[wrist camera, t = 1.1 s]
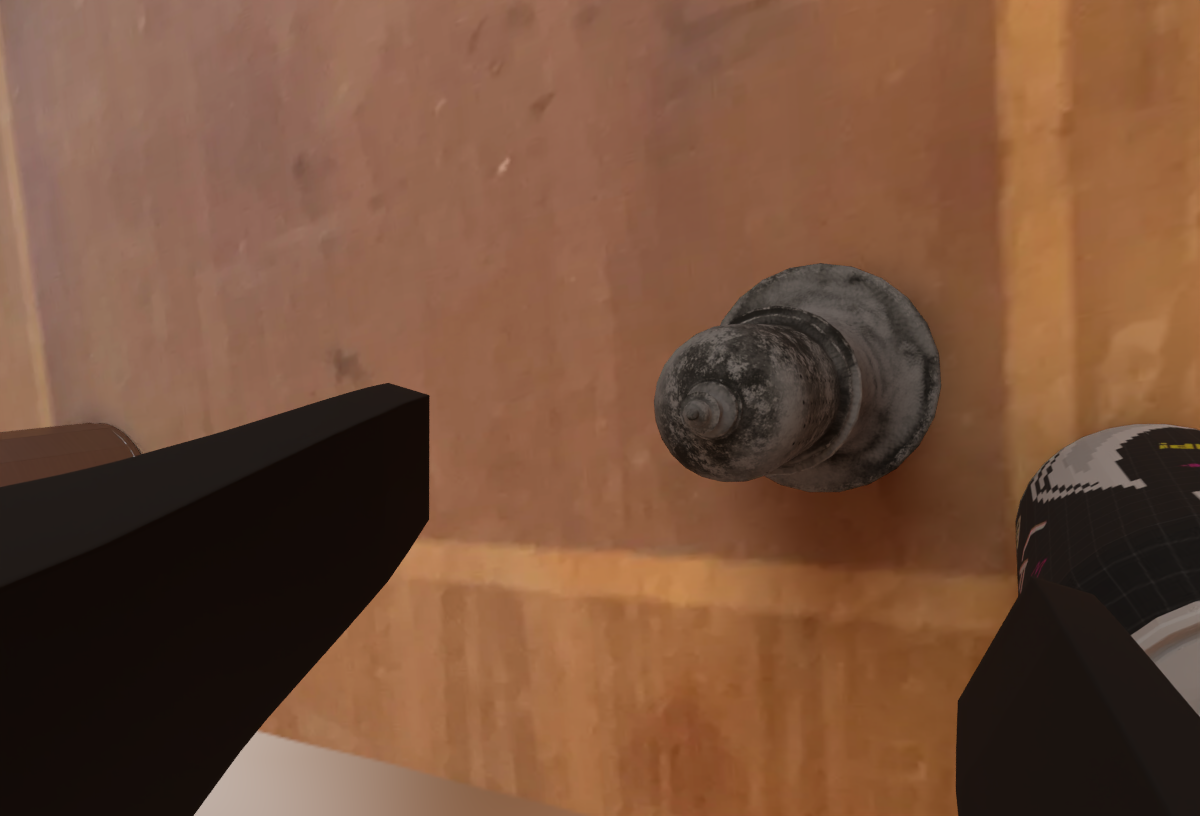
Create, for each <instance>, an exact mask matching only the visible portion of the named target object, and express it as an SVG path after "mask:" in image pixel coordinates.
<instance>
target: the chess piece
mask: <svg viewBox="0 0 1200 816" xmlns="http://www.w3.org/2000/svg"><path fill="white" fill-rule="evenodd" d="M940 389H941V377H940V363H939V353H938V350H937V348H936V345H935V342H934V340H933V337H932V335H931V332H930V329H929V327H928V324H927V323H926V321H925V320H924V319H923V317H922V316H921V315H920V313H919V312H918V311H917V309H916V308H915V307H914V305H913V304H912V303H911V301H910V300H909V299H908V298H907V297H906V296H905V295H903V294H902V293H901V292H899V291H898V290H897V289H895V288H894V287H893V286H891V285H890V284H889V283H887V282H886V281H885V280H883V279H882V278H879V277H877V276H874V275H872V274H869V273H867V272H864V271H862V270H859V269H856V268H854V267H850V266H840V265H831V264H822V263H820V264H813V265H807V266H801V267H794V268H789V269H787V270H785V271H782V272H780V273H778V274H776V275H773V276H771V277H769V278H766V279H764V280H762V281H761V282H760V283H758V284H757V285H756V286H754V287H753V288H752V289H751V290H749V291H748V292H747V293H746V294H744V295H743V296H742V297H740V298H739V300H738V301H737V302H736V303H735V305H734V306H733V307H732V309H731V310H730V311H729V313H728V314H727V315H726V316H725V318H724V319H723V320H722V322H721V325H720V326H716V327H712V328H710V329H708V330H705V331H703V332H701V333H698V334H696V335H695V336H693V337H692V338H691V339H689V340H688V341H687V342H685V343H684V344H683V345H682V346H680V347H679V348H678V349H677V350H676V351H675V352H674V353H673V355H672V356H671V357H670V359H669V360H668V361H667V363H666V364H665V365H664V367H663V370H662V372H661V375H660V377H659V379H658V382H657V386H656V393H655V399H654V407H655V419H656V423H657V426H658V429H659V432H660V435H661V438H662V440H663V442H664V443H665V445H666V446H667V448H668V449H669V451H670V453H671V454H672V455H673V456H674V457H675V458H676V459H677V460H678V461H679V462H680V463H681V464H682V465H683V466H684V467H685V468H687V469H689V470H691V471H693V472H694V473H696V474H698V475H700V476H702V477H705V478H709V479H713V480H717V481H722V482H740V481H749V480H752V479H755V478H759V477H762V476H765V477H767V478H769V479H771V480H773V481H775V482H776V483H778V484H780V485H783V486H787V487H791V488H795V489H799V490H803V491H807V492H841V491H845V490H849V489H853V488H857V487H860V486H864V485H868V484H870V483H872V482H874V481H876V480H877V479H879V478H881V477H883V476H884V475H886V474H888V473H890V472H891V471H893V470H895V469H896V468H897V467H898V466H899V465H900V464H901V463H902V462H903V461H904V460H905V459H906V458H907V457H908V456H909V455H910V454H911V453H912V452H913V451H914V450H915V449H916V448H917V447H918V446H919V445H920V443H921V441H922V439H923V437H924V436H925V434H926V432H927V430H928V428H929V426H930V425H931V423H932V421H933V419H934V417H935V412H936V408H937V403H938V398H939V394H940Z"/></svg>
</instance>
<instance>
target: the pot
mask: <svg viewBox="0 0 1200 816" xmlns="http://www.w3.org/2000/svg"><path fill="white" fill-rule="evenodd" d="M138 455H141V454H140V452H139V451H138V449H137V448H136V447H135V445H134V444H133V443H132V441H131V440H130V439H129V438H128V437H127V436H126V435H125V434H124V433H122V432H121V431H120V430H118V429H117V428H115V427H113V426H110V425H107V424H101V423H99V424H93V423H83V424H74V425H64V426H55V427H45V428H36V429H27V430H17V431H8V432H0V487H3V486H8V485H13V484H17V483H22V482H27V481H32V480H37V479H42V478H46V477H51V476H56V475H61V474H65V473H69V472H74V471H78V470H82V469H87V468H91V467H95V466H99V465H103V464H107V463H111V462H115V461H120V460H123V459H127V458H130V457H134V456H138Z"/></svg>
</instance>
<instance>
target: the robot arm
mask: <svg viewBox="0 0 1200 816" xmlns="http://www.w3.org/2000/svg"><path fill="white" fill-rule="evenodd" d="M428 520H429V395H427V394H423V393H420V392H417V391H413V390H410V389H407V388H403V387H400V386H397V385H393V384H390V383H386V384H381V385H376V386H372V387H368V388H364V389H360V390H357V391H353V392H349V393H346V394H343V395H339V396H336V397H333V398H329V399H326V400H323V401H320V402H316V403H313V404H310V405H307V406H304V407H300V408H297V409H294V410H291V411H288V412H284V413H281V414H278V415H275V416H272V417H268V418H265V419H262V420H259V421H255V422H252V423H249V424H246V425H243V426H239V427H236V428H233V429H230V430H227V431H223V432H220V433H217V434H213V435H210V436H206V437H202V438H199V439H195V440H192V441H188V442H184V443H181V444H177V445H174V446H170V447H166V448H163V449H159V450H156V451H152V452H148V453H145V454H141V455H138V456H134V457H130V458H127V459H123V460H120V461H115V462H111V463H107V464H103V465H99V466H95V467H91V468H87V469H82V470H78V471H74V472H69V473H65V474H61V475H56V476H51V477H46V478H42V479H37V480H32V481H27V482H22V483H17V484H13V485H8V486H3V487H0V816H194V814H195V813H196V811H197V810H198V809H199V807H200V806H201V805H202V803H203V802H204V800H205V799H206V798H207V796H208V795H209V794H210V792H211V791H212V790H213V788H214V787H215V785H216V784H217V782H218V781H219V780H220V779H221V777H222V776H223V774H224V773H225V772H226V770H227V769H228V768H229V766H230V765H231V764H232V762H233V761H234V759H235V758H236V757H237V755H238V754H239V753H240V751H241V750H242V749H243V747H244V746H245V745H246V744H247V743H248V741H249V740H250V739H251V738H252V737H253V735H254V734H255V733H256V732H257V730H258V729H259V728H260V727H261V726H262V724H263V723H264V722H265V721H266V720H267V718H268V717H269V716H270V715H271V714H272V713H273V711H274V710H275V709H276V708H277V707H278V706H279V705H280V704H281V702H282V701H283V700H284V699H285V698H286V697H287V696H288V695H289V693H290V692H291V691H292V690H293V689H294V688H295V687H296V685H297V684H298V683H299V682H300V681H301V680H302V679H303V678H304V676H305V675H306V674H307V673H308V672H309V671H310V670H311V669H312V667H313V666H314V665H315V664H316V663H317V662H318V661H319V660H320V658H321V657H322V656H323V655H324V654H325V653H326V652H327V651H328V649H329V648H330V647H331V646H332V645H333V644H334V643H335V642H336V640H337V639H338V638H339V637H340V636H341V635H342V634H343V632H344V631H345V630H346V629H347V628H348V627H349V626H350V625H351V623H352V622H353V621H354V620H355V619H356V618H357V616H358V615H359V614H360V613H361V612H362V611H363V610H364V608H365V607H366V606H367V605H368V604H369V603H370V602H371V600H372V599H373V598H374V597H375V596H376V595H377V593H378V592H379V591H380V590H381V589H382V588H383V586H384V585H385V584H386V583H387V582H388V580H389V579H390V578H391V576H392V575H393V573H394V572H395V570H396V569H397V567H398V566H399V565H400V563H401V562H402V560H403V559H404V557H405V556H406V554H407V553H408V551H409V550H410V548H411V547H412V545H413V544H414V542H415V540H416V539H417V537H418V536H419V534H420V533H421V531H422V530H423V528H424V526H425V525H426V523H427V522H428ZM956 796H957V806H958V816H1200V717H1199V715H1198V714H1197V713H1196V712H1195V711H1194V709H1193V708H1192V707H1191V706H1190V705H1189V704H1188V702H1187V701H1186V700H1185V699H1184V698H1183V696H1182V695H1181V694H1180V693H1179V692H1178V691H1177V689H1176V688H1175V687H1174V686H1173V685H1172V683H1171V682H1170V681H1169V680H1168V679H1167V678H1166V676H1165V675H1164V674H1163V673H1162V672H1161V670H1160V669H1159V668H1158V667H1157V666H1156V664H1155V663H1154V662H1153V661H1152V660H1151V659H1150V657H1149V656H1148V655H1147V654H1146V653H1145V652H1144V650H1143V649H1142V648H1141V647H1140V646H1139V645H1138V643H1137V642H1136V641H1135V640H1134V639H1133V637H1132V636H1131V635H1130V634H1129V633H1128V632H1127V631H1126V629H1125V628H1124V627H1123V626H1122V625H1121V624H1120V623H1119V621H1118V620H1117V619H1116V618H1115V617H1114V616H1113V615H1112V614H1111V612H1110V611H1109V610H1108V609H1107V608H1106V607H1105V606H1104V605H1103V604H1102V603H1101V602H1100V601H1099V600H1098V599H1097V598H1096V597H1095V596H1094V595H1093V594H1090V593H1087V592H1083V591H1080V590H1077V589H1073V588H1070V587H1067V586H1063V585H1060V584H1057V583H1053V582H1050V581H1047V580H1043V579H1040V578H1037V577H1033V576H1030V577H1029V579H1028V581H1027V583H1026V584H1025V586H1024V588H1023V590H1022V591H1021V593H1020V595H1019V596H1018V598H1017V600H1016V602H1015V603H1014V605H1013V607H1012V608H1011V610H1010V612H1009V614H1008V615H1007V617H1006V619H1005V621H1004V622H1003V624H1002V626H1001V627H1000V629H999V631H998V633H997V634H996V636H995V638H994V640H993V641H992V643H991V645H990V646H989V648H988V650H987V652H986V653H985V655H984V657H983V659H982V660H981V662H980V664H979V665H978V667H977V669H976V671H975V672H974V674H973V676H972V677H971V679H970V681H969V683H968V684H967V686H966V688H965V690H964V691H963V693H962V695H961V696H960V698H959V700H958V713H957V742H956Z"/></svg>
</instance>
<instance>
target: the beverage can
mask: <svg viewBox="0 0 1200 816" xmlns="http://www.w3.org/2000/svg"><path fill="white" fill-rule="evenodd" d="M1016 553H1017V575H1018V596H1019V595H1020V593H1021V591H1022V590H1023V588H1024V586H1025V584H1026V583H1027V581H1028V579H1029V577H1030V576H1033V577H1037V578H1040V579H1043V580H1047V581H1050V582H1053V583H1057V584H1060V585H1063V586H1067V587H1070V588H1073V589H1077V590H1080V591H1083V592H1087V593H1090V594H1093V595H1094V596H1095V597H1096V598H1097V599H1098V600H1099V601H1100V602H1101V603H1102V604H1103V605H1104V606H1105V607H1106V608H1107V609H1108V610H1109V611H1110V612H1111V614H1112V615H1113V616H1114V617H1115V618H1116V619H1117V620H1118V621H1119V623H1120V624H1121V625H1122V626H1123V627H1124V628H1125V629H1126V631H1127V632H1128V633H1129V634H1130V635H1131V636H1132V637H1133V639H1134V640H1135V641H1136V642H1137V643H1138V645H1139V646H1140V647H1141V648H1142V649H1143V650H1144V652H1145V653H1146V654H1147V655H1148V656H1149V657H1150V659H1151V660H1152V661H1153V662H1154V663H1155V664H1156V666H1157V667H1158V668H1159V669H1160V670H1161V672H1162V673H1163V674H1164V675H1165V676H1166V678H1167V679H1168V680H1169V681H1170V682H1171V683H1172V685H1173V686H1174V687H1175V688H1176V689H1177V691H1178V692H1179V693H1180V694H1181V695H1182V696H1183V698H1184V699H1185V700H1186V701H1187V702H1188V704H1189V705H1190V706H1191V707H1192V708H1193V709H1194V711H1195V712H1196V713H1197V714H1198V715H1199V717H1200V430H1197V429H1193V428H1187V427H1180V426H1174V425H1167V424H1134V425H1128V426H1122V427H1116V428H1109V429H1106V430H1103V431H1100V432H1097V433H1094V434H1091V435H1088V436H1085V437H1082V438H1081V439H1079V440H1077V441H1075V442H1073V443H1072V444H1070V445H1068V446H1066V447H1064V448H1063V449H1061V450H1060V451H1059V452H1057V453H1056V454H1055V455H1054V456H1053V457H1052V458H1050V459H1049V460H1048V461H1047V462H1046V463H1044V464H1043V465H1042V467H1041V468H1040V469H1039V470H1038V472H1037V473H1036V474H1035V476H1034V477H1033V478H1032V479H1031V481H1030V482H1029V484H1028V486H1027V488H1026V490H1025V492H1024V494H1023V496H1022V499H1021V501H1020V504H1019V509H1018V513H1017V518H1016Z"/></svg>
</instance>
